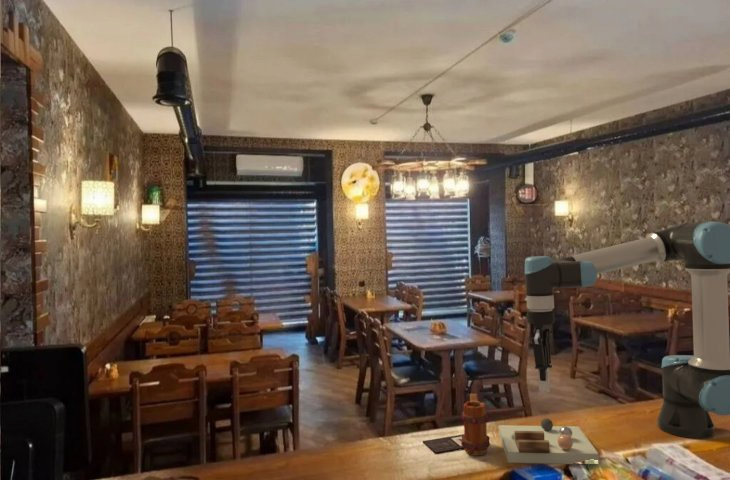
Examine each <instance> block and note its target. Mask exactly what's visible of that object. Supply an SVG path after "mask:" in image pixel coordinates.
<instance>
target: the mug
mask: <svg viewBox="0 0 730 480" xmlns="http://www.w3.org/2000/svg"><path fill="white" fill-rule="evenodd" d="M486 408H487V407H486V404H485V403H484V402H480V401H479V400H478V394H477V393H470V394H469V401H468V400H467V401H466V402H465V403H464V404H463V411H462V412H461V421H463V431H464V433H463V434H464V435H462V434H461V435H462V442H461V444H462V446H464V447H465V449H464V452H465V453H466V454H468V455H472V456H481V455H485V454H486V453H487V452H488V448H489V447H490V446H491V442H490V438H491V437H490V436H489V435H488V434H487V430H488V429H487V422H488V421H489V413H488V412H487V409H486Z"/></svg>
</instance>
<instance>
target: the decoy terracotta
mask: <svg viewBox="0 0 730 480" xmlns="http://www.w3.org/2000/svg"><path fill="white" fill-rule="evenodd" d="M558 445H559V446H560V448H562V449H564V450H569V449H570V448H571V447H572V446H573V440H572V438H571V437H570V436H568V435H566V434H563V435H560V436H559V437H558Z"/></svg>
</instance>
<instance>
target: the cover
mask: <svg viewBox="0 0 730 480" xmlns="http://www.w3.org/2000/svg"><path fill="white" fill-rule="evenodd" d="M514 432H515V443H516V445H517V448H518V451H519V453H550V448H549V441H548V440H544V432H543V431H514Z"/></svg>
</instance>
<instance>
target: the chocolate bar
mask: <svg viewBox="0 0 730 480" xmlns="http://www.w3.org/2000/svg"><path fill="white" fill-rule="evenodd" d="M462 435H464V433H463V434H457V435H452V436H446V437H445V436H444V437H440V438H433V439H428V440H427V439H426V440H422V444H423V445H425V446H426V447H427V448H428V449H429V450H430V451H431V453H432V452H433V454H434V455H439V454H443V453H444V454H445V453H451V452H455V451H462V450H465V447H464V446H462V444H461V442H462Z"/></svg>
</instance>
